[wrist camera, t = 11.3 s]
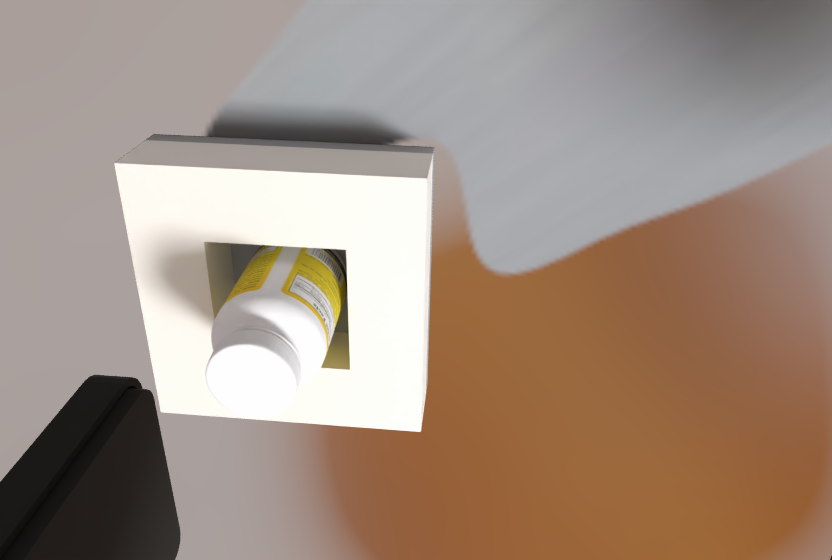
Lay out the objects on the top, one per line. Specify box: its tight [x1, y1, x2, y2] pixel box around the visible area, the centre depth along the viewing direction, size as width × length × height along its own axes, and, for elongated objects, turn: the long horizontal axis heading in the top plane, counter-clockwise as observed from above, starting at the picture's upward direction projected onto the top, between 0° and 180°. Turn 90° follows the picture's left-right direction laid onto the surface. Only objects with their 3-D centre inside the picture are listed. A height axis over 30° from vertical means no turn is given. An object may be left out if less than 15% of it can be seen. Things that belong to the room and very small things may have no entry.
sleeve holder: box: [114, 134, 434, 432], centre depth 39 cm, size 15×15×4 cm
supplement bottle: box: [206, 245, 347, 418], centre depth 36 cm, size 5×5×10 cm
